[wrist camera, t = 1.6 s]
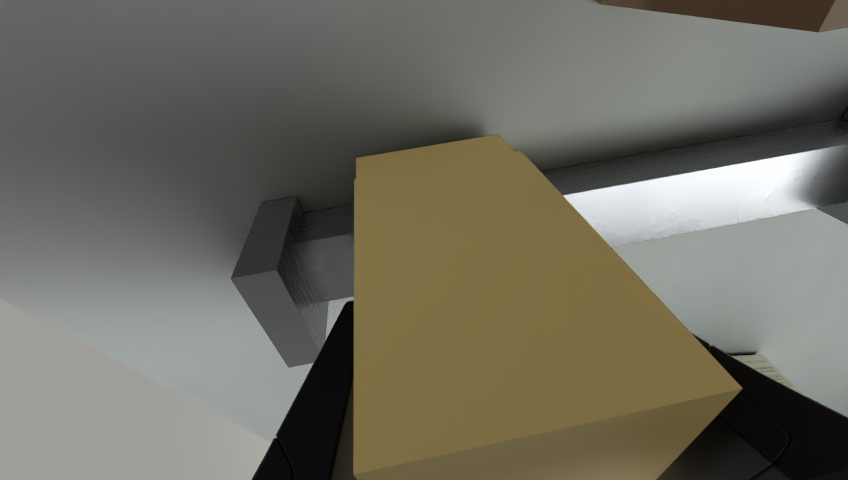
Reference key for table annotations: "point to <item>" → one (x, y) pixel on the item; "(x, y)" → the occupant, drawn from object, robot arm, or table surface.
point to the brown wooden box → (754, 11)
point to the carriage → (509, 331)
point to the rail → (584, 189)
